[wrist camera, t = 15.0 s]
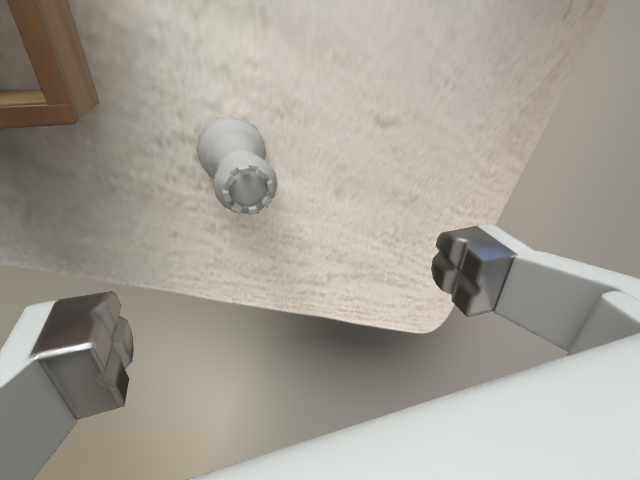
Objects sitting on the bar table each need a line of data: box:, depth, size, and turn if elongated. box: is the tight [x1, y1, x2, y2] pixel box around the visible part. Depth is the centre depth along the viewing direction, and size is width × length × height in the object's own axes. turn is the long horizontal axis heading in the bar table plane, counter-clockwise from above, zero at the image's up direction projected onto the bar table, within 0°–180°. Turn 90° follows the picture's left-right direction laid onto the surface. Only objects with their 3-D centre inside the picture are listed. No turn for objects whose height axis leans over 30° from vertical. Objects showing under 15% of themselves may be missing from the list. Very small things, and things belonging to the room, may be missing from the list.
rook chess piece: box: [197, 115, 277, 215], centre depth 20 cm, size 4×4×8 cm
